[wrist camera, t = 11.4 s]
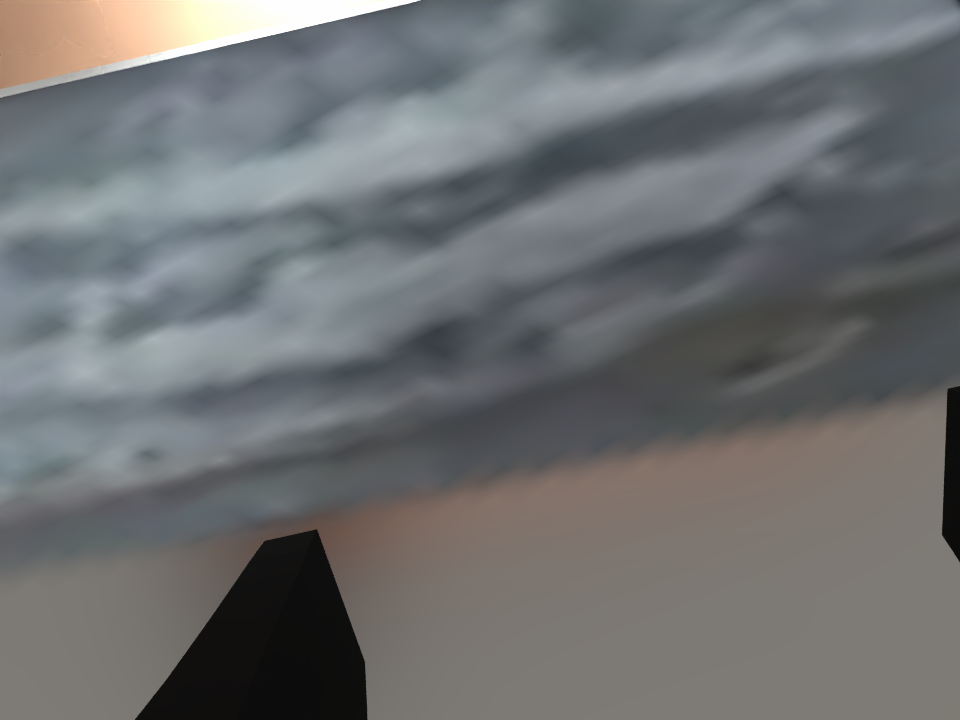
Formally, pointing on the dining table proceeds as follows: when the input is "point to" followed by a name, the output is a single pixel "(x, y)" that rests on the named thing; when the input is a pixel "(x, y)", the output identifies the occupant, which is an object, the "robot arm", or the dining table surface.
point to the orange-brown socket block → (140, 32)
